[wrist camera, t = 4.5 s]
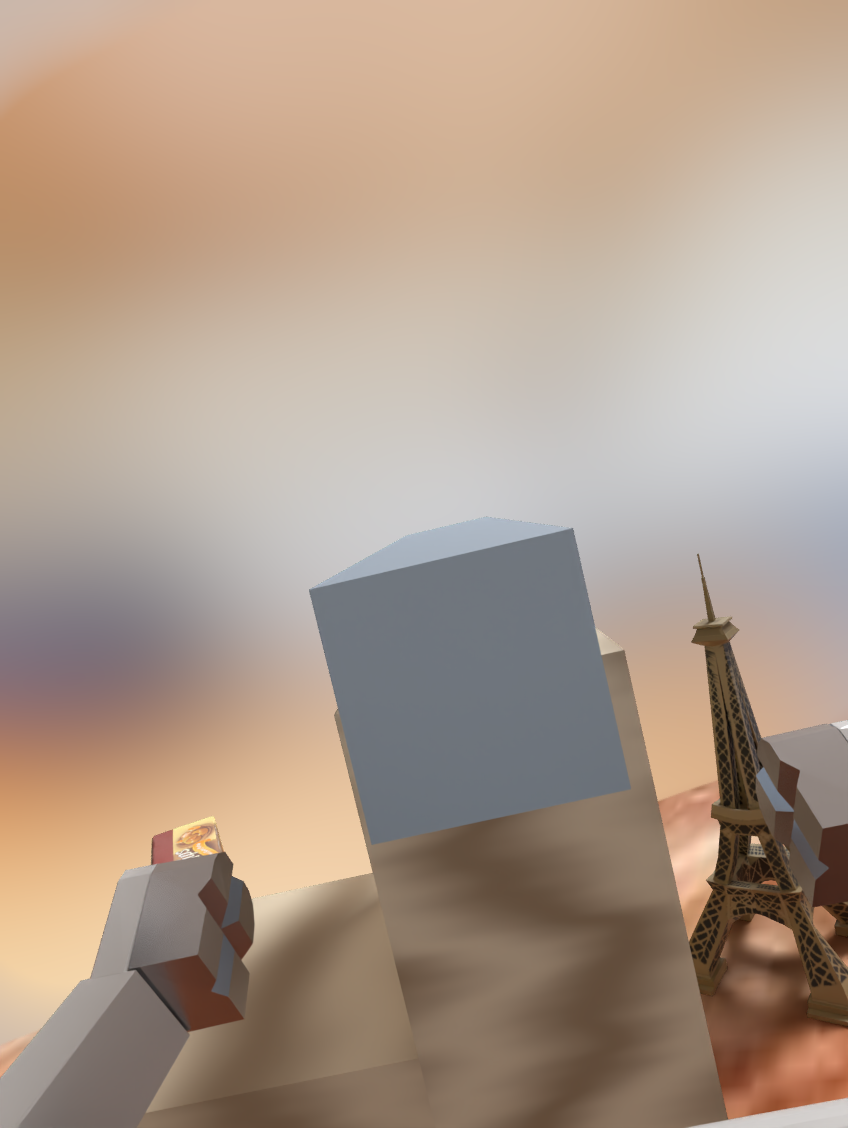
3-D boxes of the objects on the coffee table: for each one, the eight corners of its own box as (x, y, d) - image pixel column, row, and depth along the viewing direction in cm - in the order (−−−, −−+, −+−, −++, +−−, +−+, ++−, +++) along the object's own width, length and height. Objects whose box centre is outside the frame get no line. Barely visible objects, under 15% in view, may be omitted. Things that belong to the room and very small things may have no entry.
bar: (372, 844, 12) (308, 589, 11) (425, 614, 37) (406, 535, 37) (630, 788, 11) (573, 527, 11) (504, 596, 37) (486, 516, 37)
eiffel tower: (865, 1031, 39) (767, 557, 37) (667, 986, 46) (577, 583, 44) (894, 918, 47) (814, 524, 45) (722, 894, 54) (647, 551, 52)
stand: (248, 1618, 23) (20, 785, 21) (317, 1234, 34) (175, 686, 33) (817, 1523, 22) (624, 649, 20) (686, 1164, 34) (559, 598, 32)
